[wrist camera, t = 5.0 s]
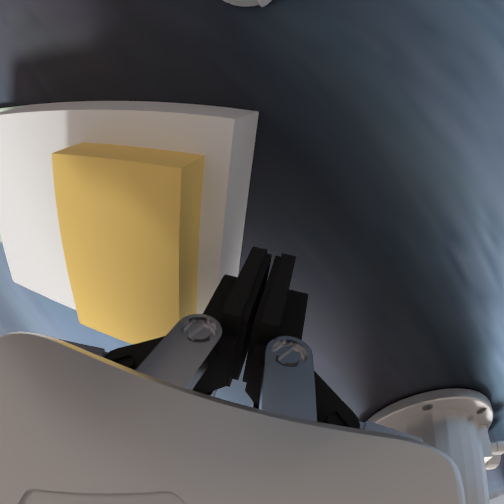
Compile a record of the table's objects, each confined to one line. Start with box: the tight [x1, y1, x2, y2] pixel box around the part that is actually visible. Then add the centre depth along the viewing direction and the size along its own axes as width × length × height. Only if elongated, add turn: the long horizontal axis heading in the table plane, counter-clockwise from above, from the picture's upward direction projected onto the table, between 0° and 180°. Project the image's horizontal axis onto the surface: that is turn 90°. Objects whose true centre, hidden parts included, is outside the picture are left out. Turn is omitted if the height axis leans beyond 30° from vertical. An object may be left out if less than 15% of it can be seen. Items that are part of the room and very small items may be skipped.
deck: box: [0, 101, 259, 314], centre depth 17 cm, size 16×12×4 cm
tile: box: [52, 142, 205, 344], centre depth 13 cm, size 6×9×2 cm, turn 173°
